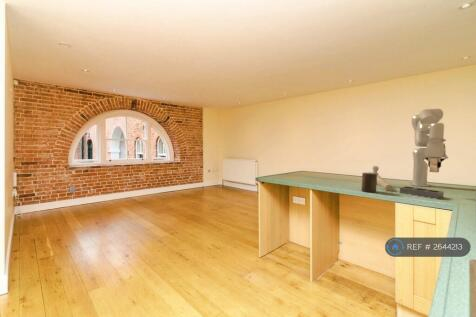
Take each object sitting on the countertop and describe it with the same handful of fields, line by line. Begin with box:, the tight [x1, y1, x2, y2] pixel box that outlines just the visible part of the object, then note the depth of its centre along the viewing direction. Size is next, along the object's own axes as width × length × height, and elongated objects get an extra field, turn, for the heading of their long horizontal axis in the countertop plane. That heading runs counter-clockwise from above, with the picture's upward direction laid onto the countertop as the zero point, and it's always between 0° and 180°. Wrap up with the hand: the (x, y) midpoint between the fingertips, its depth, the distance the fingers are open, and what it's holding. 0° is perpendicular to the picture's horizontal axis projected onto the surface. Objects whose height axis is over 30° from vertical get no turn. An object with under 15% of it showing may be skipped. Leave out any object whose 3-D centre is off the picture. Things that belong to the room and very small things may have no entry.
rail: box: [399, 185, 445, 200], centre depth 160 cm, size 9×22×4 cm, turn 32°
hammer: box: [371, 165, 393, 192], centre depth 188 cm, size 16×5×30 cm
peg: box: [429, 157, 440, 173], centre depth 160 cm, size 4×4×10 cm
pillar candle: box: [361, 171, 378, 194], centre depth 172 cm, size 10×10×15 cm
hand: (434, 167), depth 160 cm, fingers closed on peg, 4 cm apart
